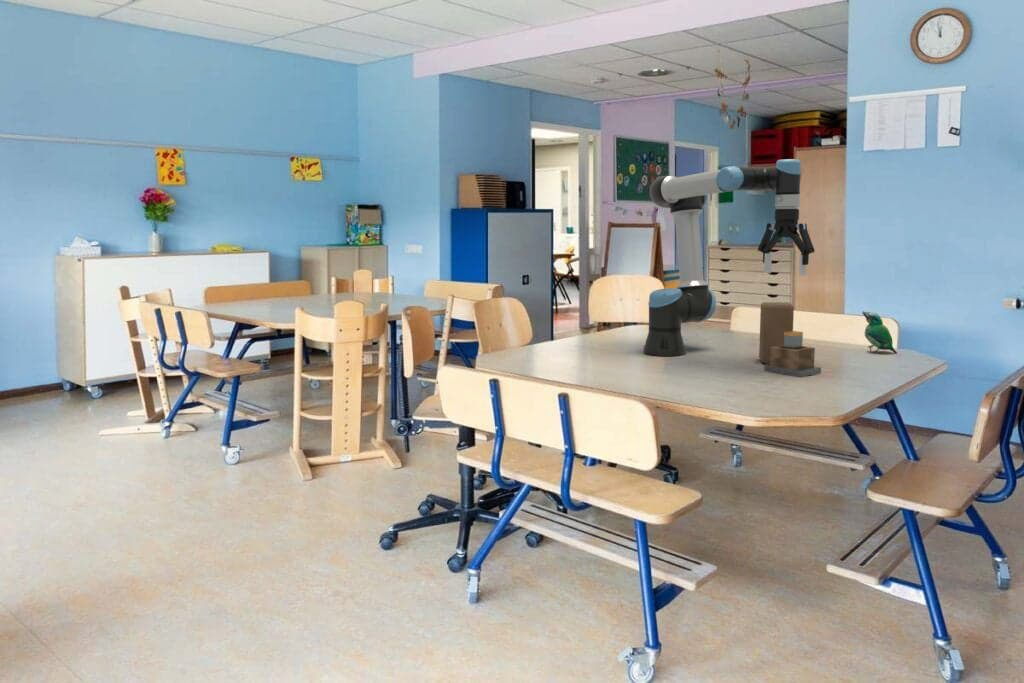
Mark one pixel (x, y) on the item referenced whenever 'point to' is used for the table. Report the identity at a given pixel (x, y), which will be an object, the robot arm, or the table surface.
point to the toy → (877, 332)
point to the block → (774, 326)
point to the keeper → (794, 342)
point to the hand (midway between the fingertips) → (784, 274)
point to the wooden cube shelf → (792, 357)
